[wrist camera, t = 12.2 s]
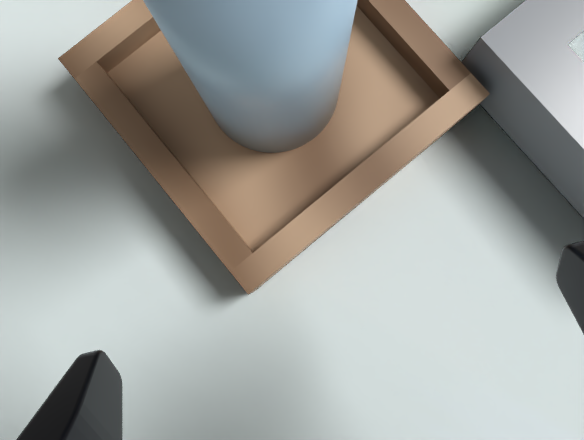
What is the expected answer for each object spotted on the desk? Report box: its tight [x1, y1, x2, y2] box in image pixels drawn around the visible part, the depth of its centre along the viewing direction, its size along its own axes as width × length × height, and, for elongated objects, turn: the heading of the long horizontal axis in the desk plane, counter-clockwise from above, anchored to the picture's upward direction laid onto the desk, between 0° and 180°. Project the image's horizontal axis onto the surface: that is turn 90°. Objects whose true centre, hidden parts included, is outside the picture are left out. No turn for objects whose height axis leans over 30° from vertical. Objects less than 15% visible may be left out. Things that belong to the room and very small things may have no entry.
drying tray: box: [58, 0, 490, 294], centre depth 18 cm, size 11×11×2 cm
